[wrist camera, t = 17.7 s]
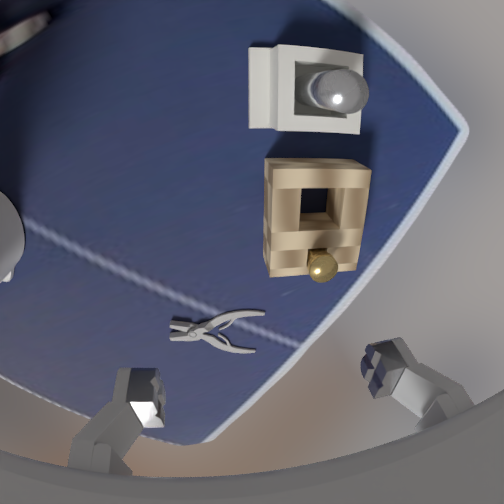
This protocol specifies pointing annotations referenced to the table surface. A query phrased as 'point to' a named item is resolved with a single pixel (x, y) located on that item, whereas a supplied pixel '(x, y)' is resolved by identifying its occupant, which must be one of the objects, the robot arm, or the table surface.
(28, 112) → the table surface
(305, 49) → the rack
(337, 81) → the grey rounded cylinder
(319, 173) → the socket block
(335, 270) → the key
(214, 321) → the pliers
